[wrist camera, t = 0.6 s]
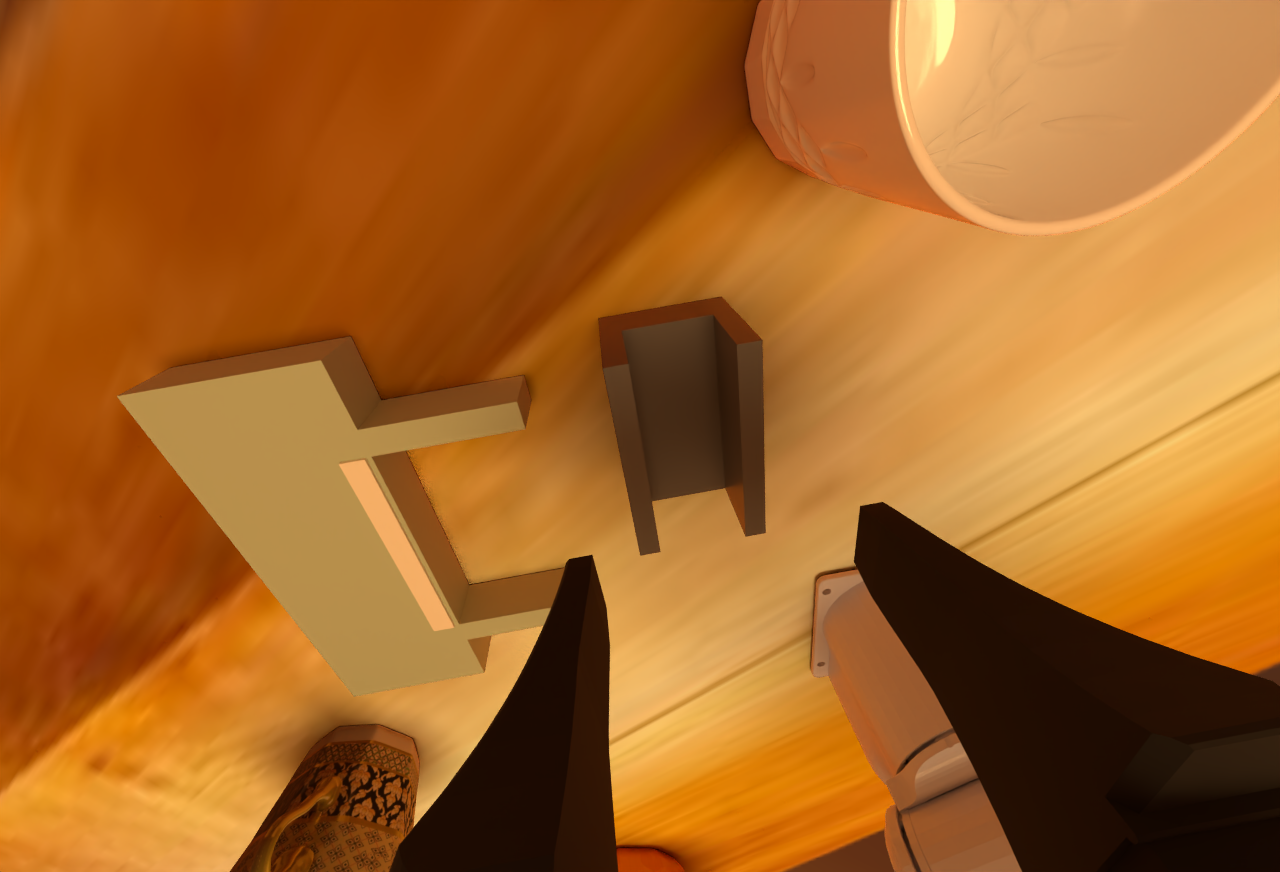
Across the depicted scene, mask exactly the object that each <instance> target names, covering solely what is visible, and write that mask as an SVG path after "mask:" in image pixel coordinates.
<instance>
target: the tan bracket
mask: <svg viewBox="0 0 1280 872" xmlns="http://www.w3.org/2000/svg"><path fill="white" fill-rule="evenodd" d="M117 397H118V399H119V400H120V401H121V402H122V404H123V405H124V406H125V407H126V409H127V410H128V411H129V412H130V414H131V415H132V416H133V418H134V419H135V420H136V421H137V423H138V424H139V425H140V426H141V428H142V429H143V430H144V431H145V433H146V434H147V435H148V437H149V438H150V439H151V440H152V442H153V443H154V444H155V445H156V447H157V448H158V449H159V450H160V452H161V453H162V454H163V455H164V457H165V458H166V459H167V461H168V462H169V463H170V464H171V466H172V467H173V468H174V469H175V471H176V472H177V473H178V474H179V476H180V477H181V478H182V480H183V481H184V482H185V483H186V485H187V486H188V487H189V488H190V490H191V491H192V492H193V493H194V495H195V496H196V497H197V498H198V500H199V501H200V502H201V504H202V505H203V506H204V507H205V509H206V510H207V511H208V512H209V514H210V515H211V516H212V517H213V519H214V520H215V521H216V523H217V524H218V525H219V526H220V528H221V529H222V530H223V531H224V533H225V534H226V535H227V536H228V538H229V539H230V540H231V541H232V543H233V544H234V545H235V547H236V548H237V549H238V550H239V552H240V553H241V554H242V555H243V557H244V558H245V559H246V560H247V562H248V563H249V564H250V566H251V567H252V568H253V569H254V571H255V572H256V573H257V574H258V576H259V577H260V578H261V579H262V581H263V582H264V583H265V584H266V586H267V587H268V588H269V590H270V591H271V592H272V593H273V595H274V596H275V597H276V598H277V600H278V601H279V602H280V603H281V605H282V606H283V607H284V609H285V610H286V611H287V612H288V614H289V615H290V616H291V617H292V619H293V620H294V621H295V622H296V624H297V625H298V626H299V627H300V629H301V630H302V631H303V633H304V634H305V635H306V636H307V638H308V639H309V640H310V641H311V643H312V644H313V645H314V646H315V648H316V649H317V650H318V652H319V653H320V654H321V655H322V657H323V658H324V659H325V660H326V662H327V663H328V664H329V665H330V667H331V668H332V669H333V670H334V672H335V673H336V674H337V676H338V677H339V678H340V679H341V681H342V682H343V683H344V684H345V686H346V687H347V688H348V689H349V691H350V692H351V693H352V695H353V696H354V697H355V696H361V695H366V694H372V693H377V692H382V691H388V690H393V689H399V688H404V687H410V686H415V685H420V684H426V683H431V682H437V681H442V680H448V679H453V678H459V677H464V676H469V675H475V674H480V673H484V672H485V667H486V662H487V656H488V651H489V646H490V640H491V635H496V634H501V633H507V632H512V631H518V630H523V629H529V628H534V627H540V626H544V624H545V621H546V619H547V616H548V614H549V612H550V609H551V607H552V604H553V602H554V599H555V596H556V593H557V591H558V588H559V585H560V582H561V579H562V576H563V572H564V569H565V568H561V569H556V570H550V571H545V572H539V573H534V574H528V575H523V576H517V577H512V578H506V579H501V580H495V581H490V582H484V583H478V584H473V585H469V583H468V581H467V579H466V577H465V575H464V573H463V571H462V569H461V567H460V565H459V562H458V560H457V558H456V556H455V554H454V552H453V550H452V548H451V546H450V544H449V541H448V539H447V537H446V535H445V533H444V531H443V529H442V527H441V525H440V523H439V520H438V518H437V516H436V514H435V512H434V510H433V508H432V506H431V504H430V501H429V499H428V497H427V495H426V493H425V491H424V489H423V487H422V485H421V483H420V480H419V478H418V476H417V474H416V472H415V470H414V468H413V466H412V464H411V462H410V459H409V457H408V455H407V453H406V450H412V449H417V448H423V447H428V446H434V445H440V444H445V443H451V442H456V441H462V440H468V439H473V438H479V437H485V436H490V435H496V434H501V433H507V432H513V431H518V430H524V429H526V424H527V419H528V415H529V410H530V405H531V397H530V394H529V391H528V387H527V384H526V380H525V377H524V375H521V376H516V377H510V378H504V379H499V380H493V381H487V382H482V383H476V384H470V385H465V386H459V387H453V388H448V389H442V390H437V391H431V392H425V393H420V394H414V395H408V396H403V397H397V398H391V399H386V400H381V399H380V396H379V394H378V392H377V390H376V388H375V386H374V384H373V382H372V380H371V377H370V375H369V373H368V371H367V369H366V367H365V365H364V363H363V361H362V359H361V356H360V354H359V352H358V350H357V348H356V346H355V344H354V342H353V340H352V338H351V336H349V337H344V338H338V339H332V340H326V341H321V342H315V343H309V344H304V345H298V346H292V347H286V348H281V349H275V350H269V351H264V352H258V353H252V354H247V355H241V356H235V357H229V358H224V359H218V360H212V361H207V362H201V363H195V364H189V365H184V366H178V367H172V368H169V369H167V370H165V371H163V372H161V373H160V374H158V375H156V376H154V377H152V378H150V379H148V380H146V381H145V382H143V383H141V384H139V385H137V386H135V387H133V388H131V389H129V390H128V391H126V392H124V393H122V394H120V395H118V396H117Z"/></svg>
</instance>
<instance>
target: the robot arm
mask: <svg viewBox="0 0 1280 872" xmlns="http://www.w3.org/2000/svg"><path fill="white" fill-rule="evenodd" d="M854 563H855V565H856V567H857V570H851V571H846V572H840V573H835V574H829V575H824V576H821V577H820V578H819V579H818V580H817V582H816V595H815V611H814V627H813V644H812V660H811V672H812V674H813V676H814V677H824V676H829V678H830V680H831V682H832V684H833V686H834V689H835V691H836V693H837V695H838V697H839V699H840V702H841V704H842V706H843V708H844V710H845V712H846V714H847V717H848V719H849V721H850V723H851V725H852V727H853V729H854V732H855V734H856V736H857V738H858V740H859V742H860V744H861V747H862V749H863V751H864V753H865V755H866V757H867V759H868V761H869V763H870V765H871V767H872V768H873V770H874V771H875V773H876V774H877V775H878V777H879V778H880V779H881V780H882V781H883V782H884V783H885V784H886V785H887V787H888V789H889V791H890V793H891V795H892V797H893V799H894V802H895V804H896V805H892V806H890V807H889V808H888V809H887V811H886V816H885V818H886V826H885V840H886V846H887V849H888V854H889V857H890V860H891V863H892V866H893V868H894V871H895V872H1280V686H1278V685H1277V684H1276V683H1274V682H1273V681H1270V680H1267V679H1264V678H1261V677H1257V676H1254V675H1251V674H1248V673H1245V672H1242V671H1238V670H1235V669H1232V668H1229V667H1226V666H1222V665H1219V664H1216V663H1213V662H1210V661H1206V660H1203V659H1200V658H1197V657H1194V656H1191V655H1188V654H1185V653H1183V652H1180V651H1177V650H1174V649H1171V648H1169V647H1166V646H1163V645H1160V644H1157V643H1155V642H1152V641H1149V640H1146V639H1144V638H1141V637H1138V636H1136V635H1133V634H1131V633H1128V632H1125V631H1123V630H1120V629H1118V628H1115V627H1113V626H1111V625H1108V624H1106V623H1103V622H1101V621H1099V620H1096V619H1094V618H1091V617H1089V616H1087V615H1084V614H1082V613H1080V612H1077V611H1075V610H1073V609H1071V608H1068V607H1066V606H1064V605H1062V604H1059V603H1057V602H1055V601H1053V600H1051V599H1049V598H1047V597H1045V596H1043V595H1041V594H1039V593H1037V592H1035V591H1033V590H1030V589H1028V588H1026V587H1024V586H1022V585H1020V584H1019V583H1017V582H1015V581H1013V580H1011V579H1009V578H1007V577H1005V576H1004V575H1002V574H1000V573H998V572H996V571H994V570H993V569H991V568H989V567H987V566H985V565H984V564H982V563H980V562H978V561H977V560H975V559H973V558H972V557H970V556H968V555H966V554H965V553H963V552H961V551H960V550H958V549H956V548H955V547H953V546H952V545H950V544H948V543H947V542H945V541H943V540H942V539H940V538H939V537H937V536H935V535H934V534H932V533H931V532H929V531H928V530H926V529H925V528H923V527H921V526H920V525H918V524H917V523H915V522H914V521H912V520H911V519H909V518H907V517H906V516H904V515H903V514H901V513H900V512H898V511H897V510H895V509H893V508H892V507H890V506H889V505H887V504H885V503H884V502H880V503H875V504H869V505H864V506H860V513H859V522H858V530H857V539H856V548H855V557H854ZM609 671H610V641H609V630H608V619H607V608H606V604H605V600H604V596H603V593H602V589H601V585H600V582H599V578H598V574H597V571H596V567H595V563H594V560H593V556H592V555H589V556H583V557H578V558H572V559H569V560H568V561H567V563H566V565H565V569H564V572H563V576H562V579H561V582H560V585H559V588H558V591H557V593H556V596H555V599H554V602H553V604H552V607H551V609H550V612H549V614H548V616H547V619H546V621H545V624H544V626H543V629H542V631H541V633H540V635H539V637H538V640H537V642H536V644H535V646H534V648H533V650H532V652H531V654H530V656H529V658H528V660H527V662H526V664H525V666H524V668H523V670H522V672H521V674H520V676H519V678H518V680H517V681H516V683H515V685H514V687H513V689H512V690H511V692H510V694H509V695H508V697H507V699H506V701H505V702H504V704H503V706H502V707H501V709H500V710H499V712H498V714H497V715H496V717H495V718H494V720H493V722H492V723H491V725H490V726H489V728H488V730H487V731H486V733H485V734H484V736H483V737H482V739H481V740H480V742H479V743H478V744H477V746H476V747H475V749H474V750H473V752H472V753H471V754H470V756H469V757H468V758H467V760H466V761H465V762H464V764H463V765H462V767H461V768H460V769H459V771H458V772H457V773H456V775H455V776H454V778H453V779H452V780H451V782H450V783H449V784H448V786H447V787H446V788H445V790H444V791H443V792H442V793H441V795H440V796H439V797H438V799H437V800H436V801H435V802H434V803H433V805H432V806H431V807H430V808H429V809H428V811H427V812H426V813H425V814H424V815H423V817H422V818H421V819H420V820H419V822H418V823H417V824H416V825H415V826H414V828H413V829H412V830H411V831H410V832H409V834H408V835H407V836H406V837H405V838H404V840H403V841H402V842H401V843H400V844H399V846H398V849H397V851H396V854H395V857H394V859H393V862H392V865H391V868H390V870H389V872H618V861H617V850H616V838H615V826H614V813H613V800H612V787H611V773H610V759H609Z"/></svg>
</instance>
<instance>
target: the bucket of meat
mask: <svg viewBox="0 0 1280 872" xmlns="http://www.w3.org/2000/svg"><path fill="white" fill-rule="evenodd" d="M616 850H617V861H618V872H684V869H683V867H682V866H681V865H680V864H679V863H678V862H677V861H676V860H675V859H674V858H673V857H672V856H670V855H667V854H665V853H663V852H660V851H658V850H656V849H653V848H618V849H616Z"/></svg>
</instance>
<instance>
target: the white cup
mask: <svg viewBox="0 0 1280 872" xmlns="http://www.w3.org/2000/svg"><path fill="white" fill-rule="evenodd" d="M744 68H745V75H746V82H747V89H748V97H749V104H750V111H751V118H752V121H753V123H754V124H755V126H756V127H757V129H758V131H759V132H760V134H761V135H762V137H763V139H764V140H765V142H766V143H767V145H768V146H769V148H770V150H771V151H772V153H773V154H774V156H775V157H776V159H778V160H780V161H782V162H784V163H786V164H788V165H790V166H792V167H794V168H795V169H797V170H799V171H801V172H803V173H805V174H807V175H809V176H811V177H814V178H818V179H821V180H822V181H825V182H827V183H829V184H832V185H835V186H838V187H841V188H844V189H847V190H850V191H853V192H856V193H859V194H862V195H865V196H868V197H871V198H875V199H879V200H882V201H886V202H890V203H894V204H898V205H901V206H905V207H909V208H913V209H917V210H920V211H924V212H928V213H932V214H935V215H939V216H943V217H946V218H950V219H954V220H957V221H961V222H965V223H968V224H972V225H975V226H979V227H983V228H986V229H990V230H993V231H997V232H1001V233H1006V234H1012V235H1021V236H1048V235H1057V234H1064V233H1070V232H1075V231H1079V230H1083V229H1087V228H1090V227H1094V226H1097V225H1100V224H1103V223H1105V222H1108V221H1111V220H1113V219H1116V218H1118V217H1120V216H1123V215H1125V214H1127V213H1129V212H1131V211H1133V210H1136V209H1137V208H1139V207H1141V206H1143V205H1145V204H1147V203H1149V202H1151V201H1152V200H1154V199H1156V198H1158V197H1159V196H1161V195H1163V194H1164V193H1166V192H1167V191H1169V190H1171V189H1172V188H1174V187H1175V186H1177V185H1178V184H1180V183H1181V182H1183V181H1184V180H1186V179H1187V178H1188V177H1190V176H1191V175H1193V174H1194V173H1195V172H1197V171H1198V170H1199V169H1201V168H1202V167H1203V166H1204V165H1206V164H1207V163H1208V162H1210V161H1211V160H1212V159H1213V158H1214V157H1216V156H1217V155H1218V154H1219V153H1220V152H1222V151H1223V150H1224V149H1225V148H1226V147H1227V146H1229V145H1230V144H1231V143H1232V142H1233V141H1234V140H1235V139H1236V138H1237V137H1239V136H1240V135H1241V134H1242V133H1243V132H1244V131H1245V130H1246V129H1247V128H1248V127H1249V126H1250V125H1251V124H1252V123H1253V122H1254V121H1255V120H1256V119H1257V118H1258V117H1259V116H1260V115H1261V114H1262V113H1263V112H1264V111H1265V110H1266V109H1267V108H1268V107H1269V106H1270V105H1271V104H1272V102H1273V101H1274V100H1275V99H1276V98H1277V97H1278V96H1279V95H1280V0H760V2H759V4H758V6H757V10H756V14H755V19H754V24H753V28H752V33H751V37H750V42H749V47H748V51H747V56H746V60H745V65H744Z"/></svg>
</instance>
